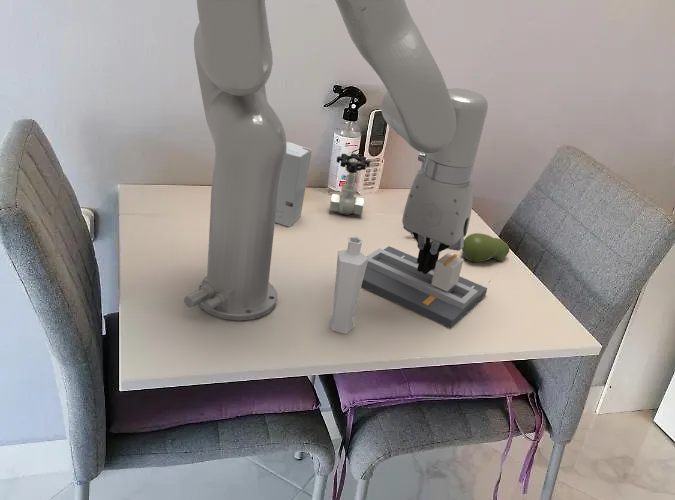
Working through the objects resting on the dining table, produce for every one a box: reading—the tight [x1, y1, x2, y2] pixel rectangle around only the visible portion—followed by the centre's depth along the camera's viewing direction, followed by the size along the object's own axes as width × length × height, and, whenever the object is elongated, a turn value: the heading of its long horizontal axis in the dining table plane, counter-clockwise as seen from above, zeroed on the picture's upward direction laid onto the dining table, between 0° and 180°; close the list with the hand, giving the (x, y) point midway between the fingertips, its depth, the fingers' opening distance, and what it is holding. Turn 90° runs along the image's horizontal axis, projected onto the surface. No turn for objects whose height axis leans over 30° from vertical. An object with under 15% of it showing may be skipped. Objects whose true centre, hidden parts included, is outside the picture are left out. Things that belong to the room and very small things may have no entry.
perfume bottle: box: [329, 236, 369, 335], centre depth 102 cm, size 5×4×15 cm
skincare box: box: [275, 141, 313, 227], centre depth 132 cm, size 8×6×15 cm
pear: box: [461, 232, 510, 263], centre depth 131 cm, size 6×5×10 cm
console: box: [361, 245, 488, 329], centre depth 118 cm, size 14×20×3 cm
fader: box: [431, 252, 464, 293], centre depth 114 cm, size 4×3×6 cm
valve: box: [329, 153, 371, 216], centre depth 138 cm, size 7×7×12 cm
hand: (425, 269), depth 116 cm, fingers closed
